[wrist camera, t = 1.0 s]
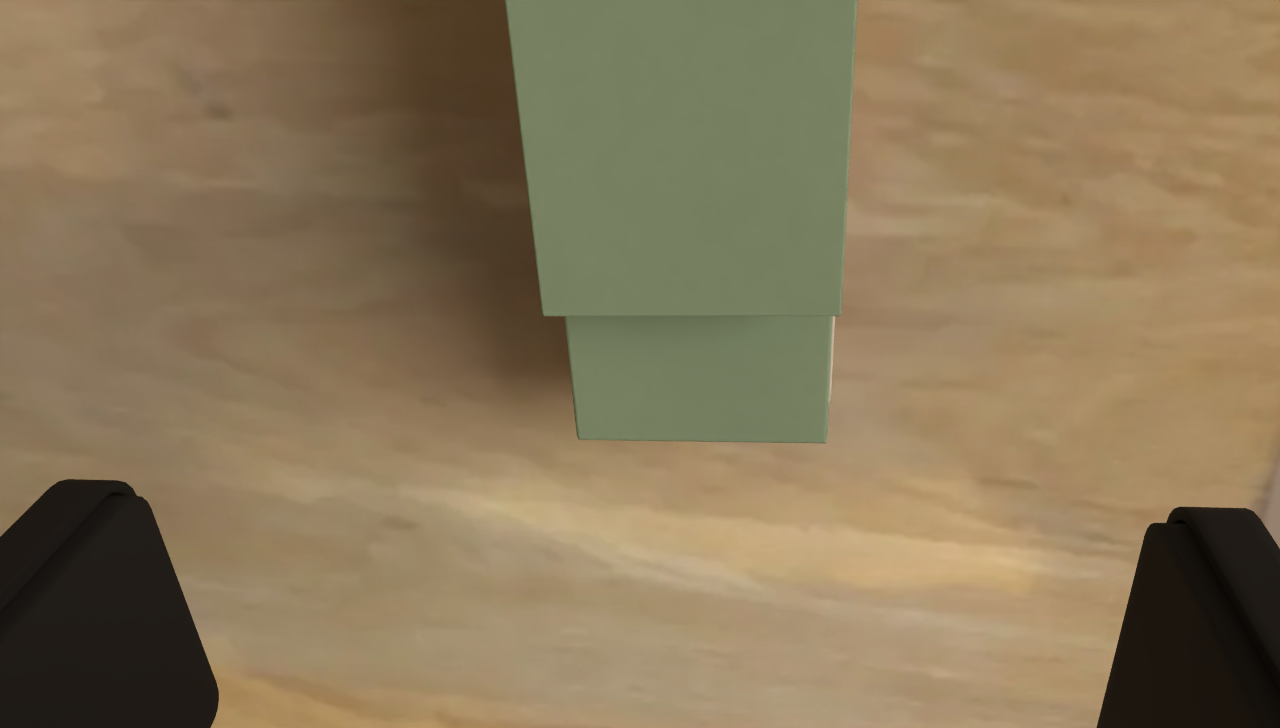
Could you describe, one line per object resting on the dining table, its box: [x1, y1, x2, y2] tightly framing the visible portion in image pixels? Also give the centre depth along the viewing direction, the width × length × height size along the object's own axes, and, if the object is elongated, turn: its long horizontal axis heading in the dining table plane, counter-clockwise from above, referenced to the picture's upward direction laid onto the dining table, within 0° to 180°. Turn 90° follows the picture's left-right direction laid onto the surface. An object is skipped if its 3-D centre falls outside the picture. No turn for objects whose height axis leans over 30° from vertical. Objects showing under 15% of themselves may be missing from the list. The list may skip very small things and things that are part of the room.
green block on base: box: [505, 0, 857, 443], centre depth 21 cm, size 16×6×6 cm, turn 3°
